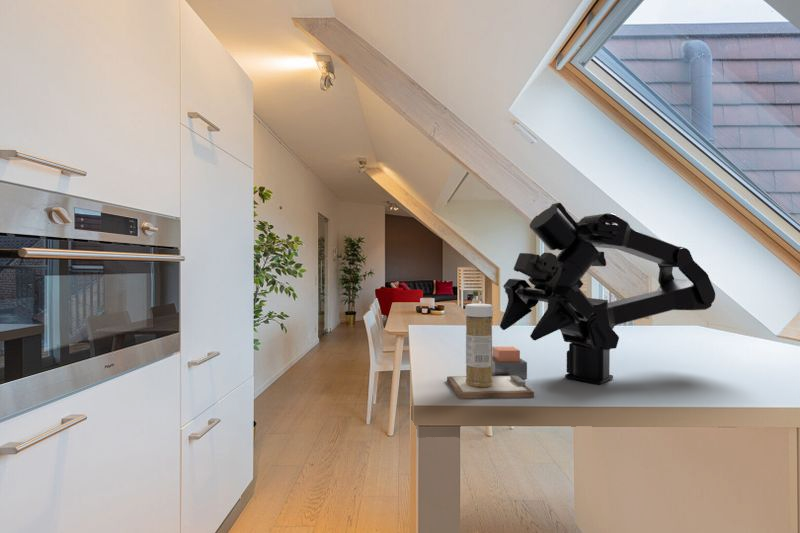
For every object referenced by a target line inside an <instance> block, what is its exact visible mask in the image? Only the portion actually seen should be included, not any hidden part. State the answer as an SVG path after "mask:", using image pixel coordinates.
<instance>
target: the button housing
mask: <svg viewBox="0 0 800 533" xmlns="http://www.w3.org/2000/svg"><path fill="white" fill-rule="evenodd" d="M510 375H512V376H518V377H520V378H521V379H522V380H524V379H525V380H526V379H527V378H528V362H527V361H526V360H524V359H522V358H521V357H520V362H497V361H495V360H494V359H493V355H492V376H510Z"/></svg>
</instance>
